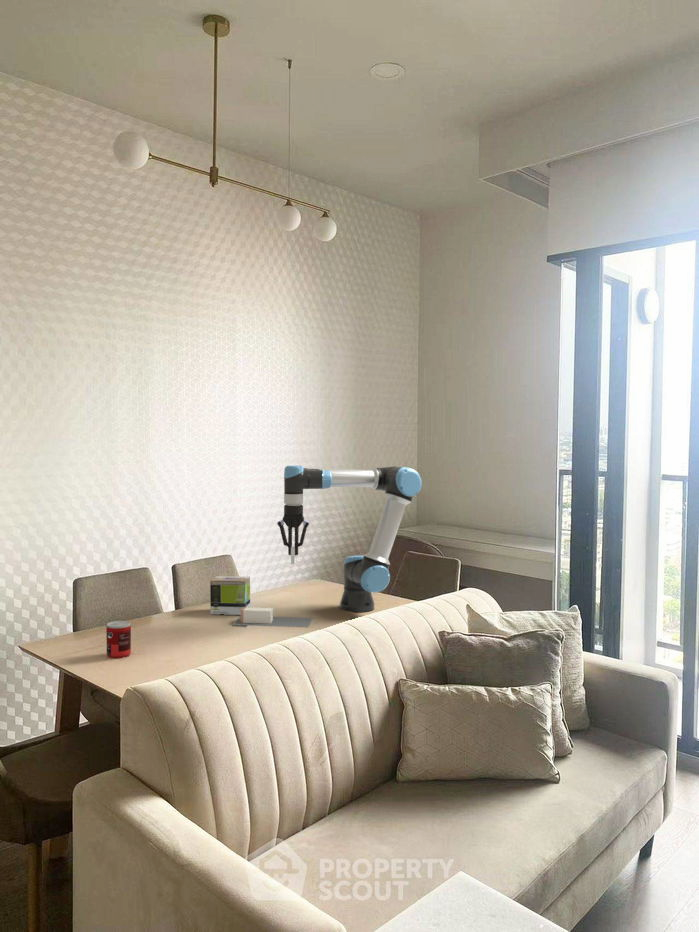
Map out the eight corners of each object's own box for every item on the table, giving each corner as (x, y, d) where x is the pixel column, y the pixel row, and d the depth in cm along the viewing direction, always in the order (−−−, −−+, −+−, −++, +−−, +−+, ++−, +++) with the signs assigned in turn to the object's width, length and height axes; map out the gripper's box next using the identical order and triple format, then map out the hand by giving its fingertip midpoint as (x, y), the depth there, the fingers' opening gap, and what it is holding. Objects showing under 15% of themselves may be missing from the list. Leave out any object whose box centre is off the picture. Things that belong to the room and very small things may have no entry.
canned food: (109, 652, 249) (109, 620, 249) (133, 651, 250) (132, 620, 249) (103, 659, 242) (103, 626, 241) (128, 658, 242) (128, 626, 242)
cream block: (273, 608, 291) (243, 607, 291) (270, 611, 286) (241, 610, 286) (272, 620, 291) (243, 619, 292) (270, 623, 286) (240, 622, 287)
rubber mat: (312, 619, 295) (312, 617, 295) (308, 628, 281) (308, 627, 281) (240, 616, 297) (240, 615, 297) (232, 626, 283) (232, 624, 283)
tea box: (250, 610, 309) (250, 576, 308) (245, 616, 299) (245, 580, 298) (216, 608, 310) (216, 575, 310) (209, 614, 300) (209, 579, 300)
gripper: (311, 503, 289) (310, 562, 290) (278, 503, 289) (278, 561, 291) (308, 505, 281) (308, 565, 282) (275, 505, 282) (275, 564, 283)
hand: (293, 563), depth 286 cm, fingers closed
